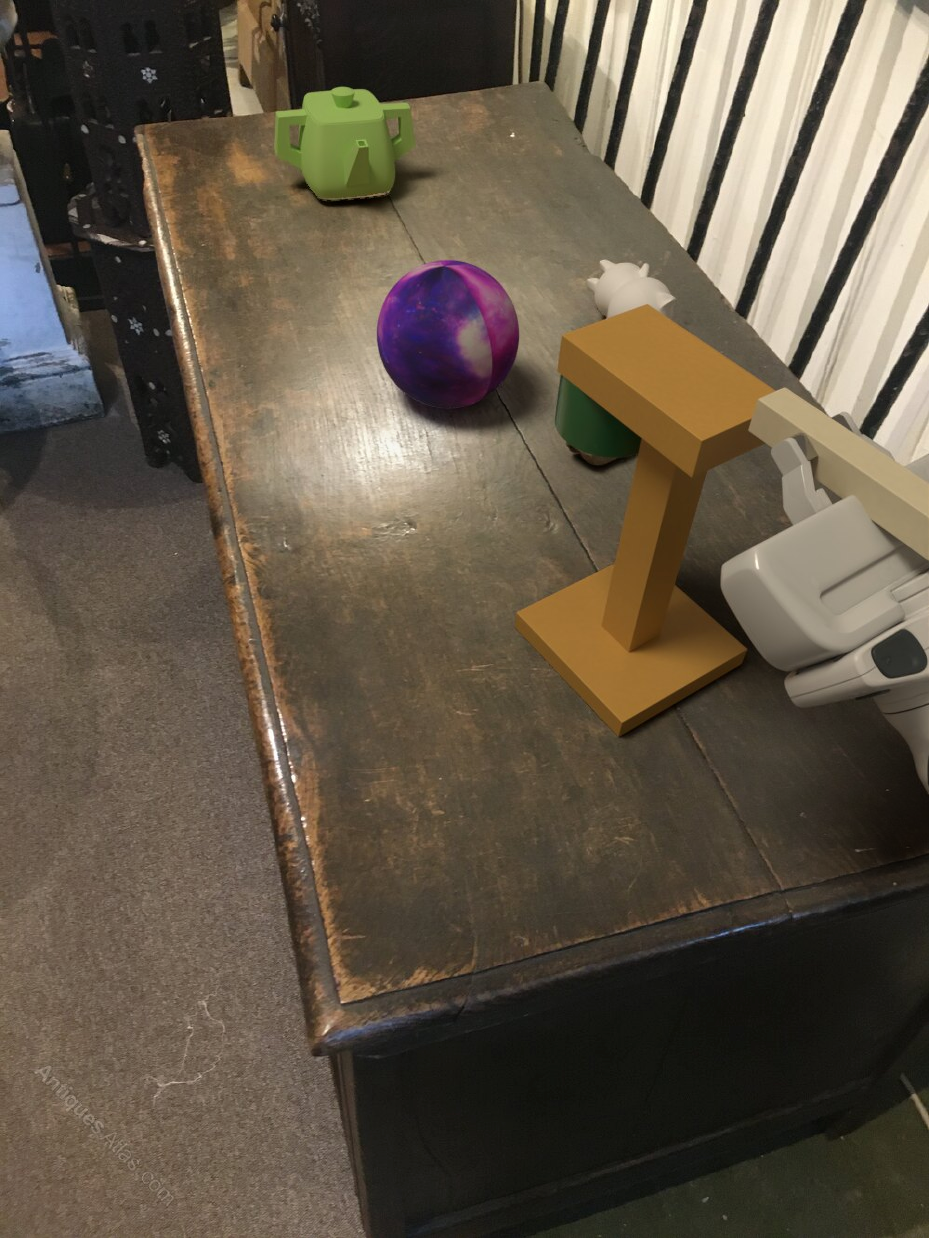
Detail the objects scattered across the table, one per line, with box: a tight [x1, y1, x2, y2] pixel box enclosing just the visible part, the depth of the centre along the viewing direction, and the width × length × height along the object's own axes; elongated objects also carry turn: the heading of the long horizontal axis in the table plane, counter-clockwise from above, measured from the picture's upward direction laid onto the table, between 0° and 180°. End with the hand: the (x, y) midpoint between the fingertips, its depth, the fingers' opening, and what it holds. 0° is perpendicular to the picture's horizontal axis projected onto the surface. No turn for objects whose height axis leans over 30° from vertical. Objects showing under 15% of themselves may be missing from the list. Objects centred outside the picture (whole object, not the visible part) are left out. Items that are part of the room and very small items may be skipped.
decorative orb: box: [376, 259, 520, 410], centre depth 102 cm, size 15×15×15 cm
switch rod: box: [748, 386, 929, 561], centre depth 56 cm, size 15×3×3 cm, turn 35°
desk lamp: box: [514, 304, 776, 738], centre depth 75 cm, size 18×14×27 cm
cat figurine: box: [586, 259, 677, 321], centre depth 116 cm, size 9×11×12 cm
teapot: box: [273, 86, 416, 202], centre depth 136 cm, size 18×20×13 cm
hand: (807, 429), depth 58 cm, fingers closed on switch rod, 2 cm apart
